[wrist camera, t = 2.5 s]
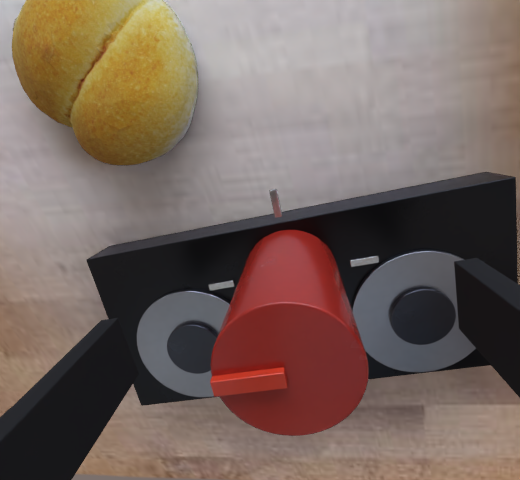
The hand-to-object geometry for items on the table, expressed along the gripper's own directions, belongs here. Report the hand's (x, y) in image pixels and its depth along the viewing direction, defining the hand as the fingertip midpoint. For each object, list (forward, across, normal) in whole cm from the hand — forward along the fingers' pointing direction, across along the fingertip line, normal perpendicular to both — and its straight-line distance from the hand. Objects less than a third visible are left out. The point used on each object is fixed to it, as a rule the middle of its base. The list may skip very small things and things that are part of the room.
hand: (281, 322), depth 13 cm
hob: (+8, 0, +2) cm, 8 cm away
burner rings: (+5, 0, +3) cm, 6 cm away
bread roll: (+8, +7, -12) cm, 16 cm away
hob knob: (+5, 0, 0) cm, 5 cm away
